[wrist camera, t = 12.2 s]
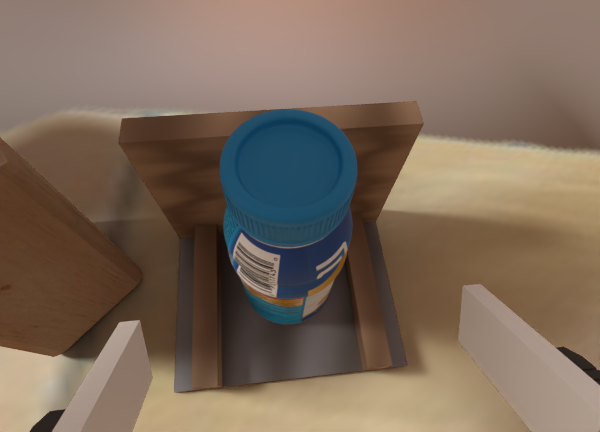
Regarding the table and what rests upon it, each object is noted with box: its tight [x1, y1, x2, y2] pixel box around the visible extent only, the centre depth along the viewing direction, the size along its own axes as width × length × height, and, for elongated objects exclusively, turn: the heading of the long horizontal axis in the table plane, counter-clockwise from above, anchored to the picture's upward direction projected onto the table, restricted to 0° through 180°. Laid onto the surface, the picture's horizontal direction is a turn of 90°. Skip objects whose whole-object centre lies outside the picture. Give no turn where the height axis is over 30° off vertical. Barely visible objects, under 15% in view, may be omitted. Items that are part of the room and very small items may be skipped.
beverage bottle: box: [219, 109, 358, 324], centre depth 26 cm, size 8×8×20 cm
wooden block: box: [0, 138, 142, 357], centre depth 26 cm, size 10×10×20 cm
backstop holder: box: [119, 101, 424, 393], centre depth 29 cm, size 20×16×16 cm
